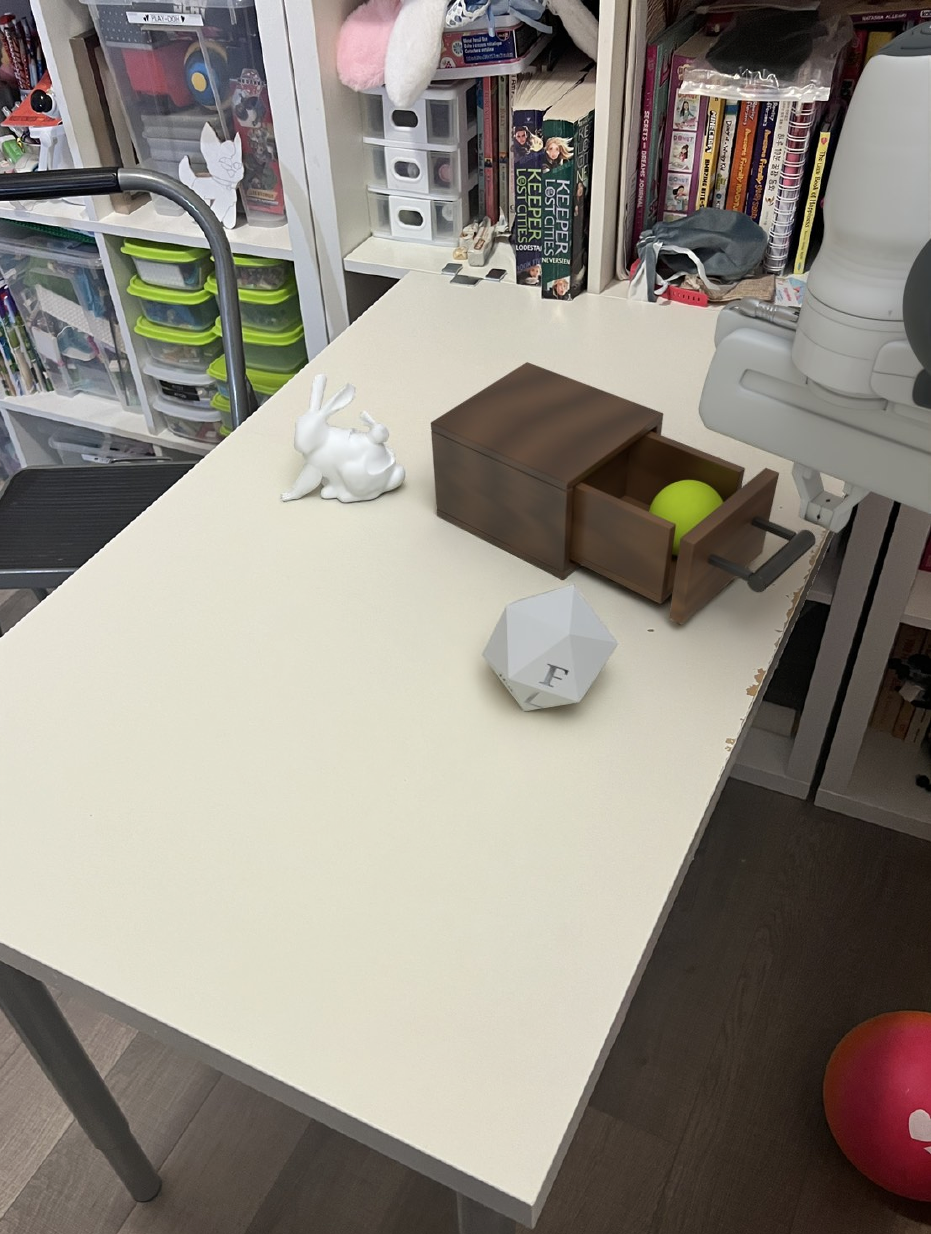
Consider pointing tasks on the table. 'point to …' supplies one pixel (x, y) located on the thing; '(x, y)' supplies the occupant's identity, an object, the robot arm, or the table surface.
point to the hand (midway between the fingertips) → (822, 521)
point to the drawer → (643, 542)
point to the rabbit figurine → (342, 452)
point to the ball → (685, 506)
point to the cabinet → (529, 459)
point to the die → (549, 648)
